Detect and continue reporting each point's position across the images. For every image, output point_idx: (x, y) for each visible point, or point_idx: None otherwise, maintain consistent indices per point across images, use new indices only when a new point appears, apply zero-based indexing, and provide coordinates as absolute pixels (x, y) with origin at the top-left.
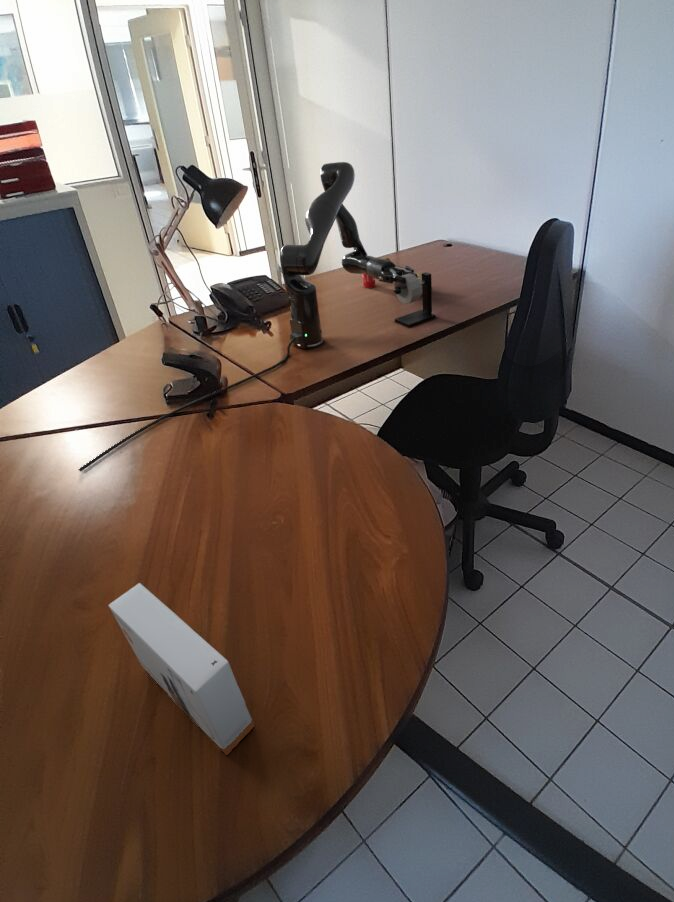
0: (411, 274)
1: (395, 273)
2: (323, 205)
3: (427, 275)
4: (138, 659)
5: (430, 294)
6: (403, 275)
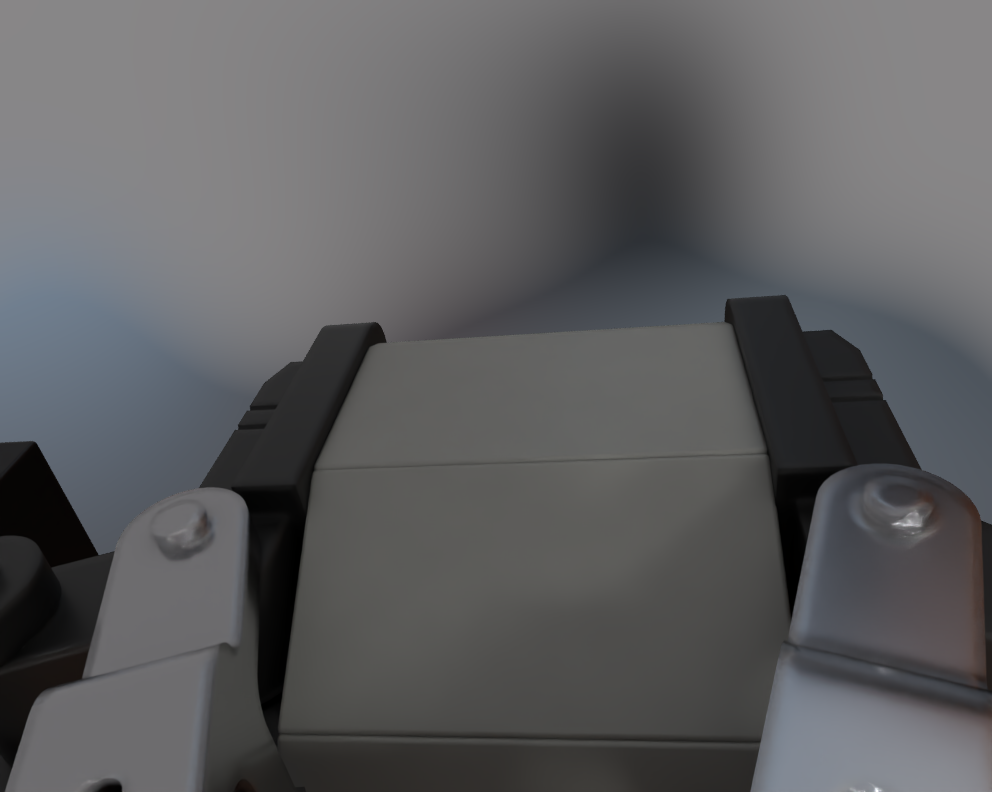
0: (398, 382)
1: (814, 653)
2: None
3: (35, 446)
4: None
5: None
6: (628, 434)
